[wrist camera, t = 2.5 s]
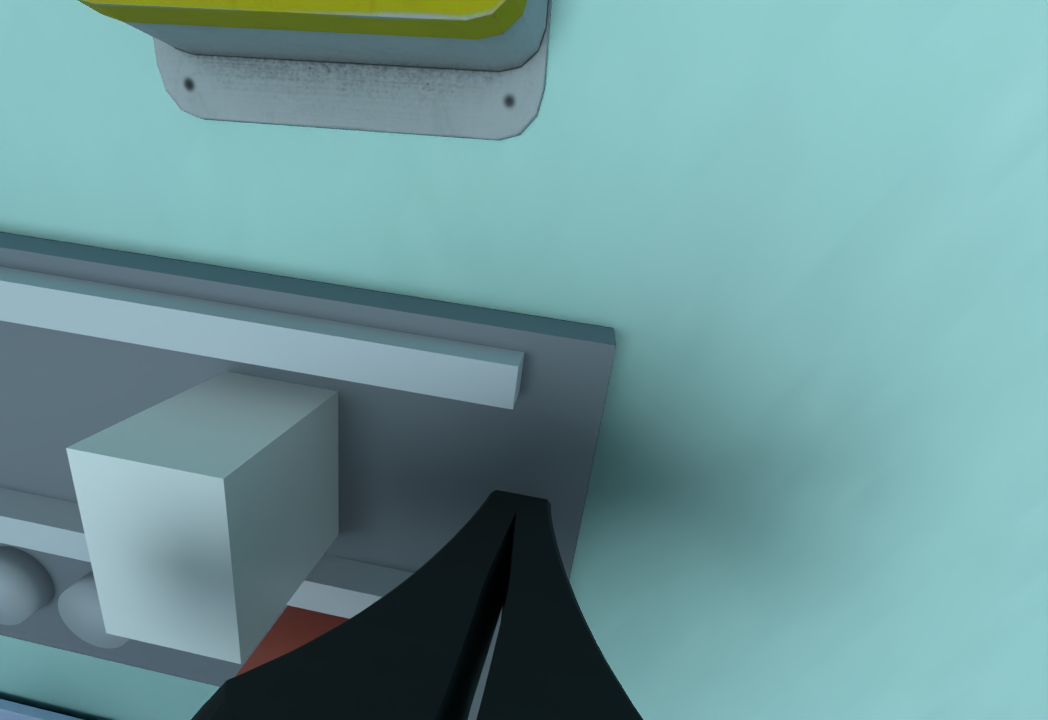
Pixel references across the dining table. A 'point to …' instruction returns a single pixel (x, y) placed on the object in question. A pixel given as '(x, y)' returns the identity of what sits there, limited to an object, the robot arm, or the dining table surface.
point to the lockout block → (291, 634)
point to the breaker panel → (291, 356)
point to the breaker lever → (209, 511)
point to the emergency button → (351, 61)
